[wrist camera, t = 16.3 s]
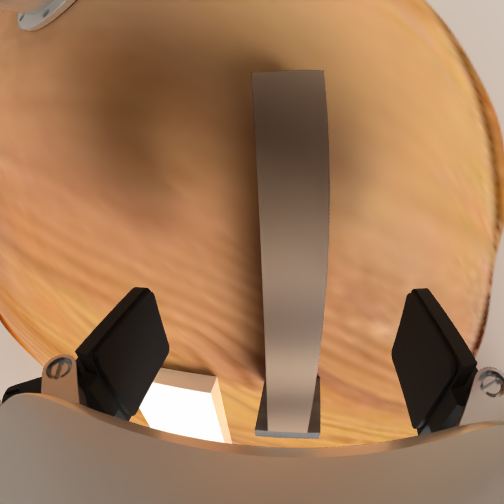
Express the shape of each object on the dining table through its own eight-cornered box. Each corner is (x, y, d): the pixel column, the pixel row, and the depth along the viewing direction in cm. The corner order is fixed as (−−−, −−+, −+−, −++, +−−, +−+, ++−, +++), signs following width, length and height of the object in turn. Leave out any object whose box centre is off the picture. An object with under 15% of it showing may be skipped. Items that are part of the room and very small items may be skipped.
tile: (122, 374, 19) (160, 443, 23) (210, 393, 18) (229, 458, 22) (133, 358, 21) (167, 429, 26) (218, 373, 20) (233, 442, 24)
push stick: (252, 100, 12) (227, 75, 8) (330, 98, 12) (347, 71, 7) (265, 382, 19) (255, 435, 14) (318, 384, 18) (318, 438, 14)
